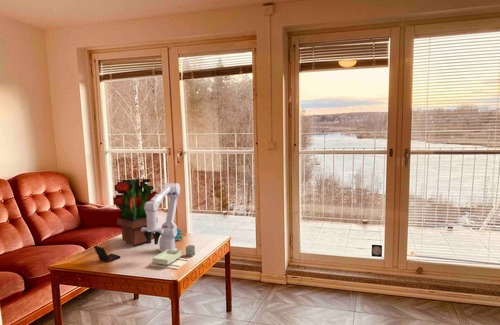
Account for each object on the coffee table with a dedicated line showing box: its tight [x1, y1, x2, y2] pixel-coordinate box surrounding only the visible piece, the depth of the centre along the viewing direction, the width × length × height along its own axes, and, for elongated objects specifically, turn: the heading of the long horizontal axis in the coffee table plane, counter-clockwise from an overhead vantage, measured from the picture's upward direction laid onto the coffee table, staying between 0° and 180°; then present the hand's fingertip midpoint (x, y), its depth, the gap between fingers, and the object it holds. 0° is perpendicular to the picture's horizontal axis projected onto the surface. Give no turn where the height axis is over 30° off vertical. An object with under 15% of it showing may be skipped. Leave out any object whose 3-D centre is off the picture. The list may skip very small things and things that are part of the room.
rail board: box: [149, 257, 191, 270], centre depth 197 cm, size 19×14×1 cm
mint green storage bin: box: [151, 249, 183, 265], centre depth 197 cm, size 10×15×4 cm
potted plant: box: [112, 177, 159, 247], centre depth 234 cm, size 22×22×45 cm
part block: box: [185, 244, 196, 258], centre depth 208 cm, size 4×4×6 cm
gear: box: [175, 228, 184, 242], centre depth 240 cm, size 11×6×10 cm
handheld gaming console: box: [93, 245, 121, 264], centre depth 203 cm, size 9×12×10 cm
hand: (152, 243), depth 200 cm, fingers open, 4 cm apart
